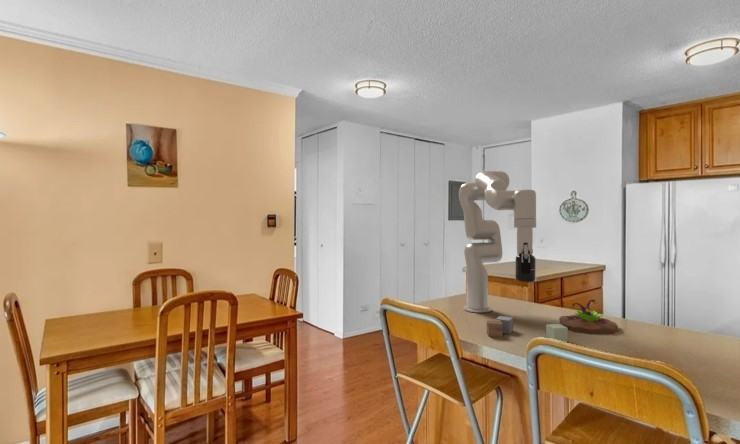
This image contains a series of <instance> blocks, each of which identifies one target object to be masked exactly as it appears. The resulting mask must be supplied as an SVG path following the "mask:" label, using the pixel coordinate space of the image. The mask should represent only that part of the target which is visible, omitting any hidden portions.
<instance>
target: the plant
mask: <svg viewBox="0 0 740 444" xmlns="http://www.w3.org/2000/svg"><path fill="white" fill-rule="evenodd" d="M591 302H592V303H593V304H594V305H597V304H598V301H597V300H596V299H590V300H589V301H588V302H587V303H586V306H585V307H584V305H582V304H581V303H578V302H574V303H572V304H570V307H571V308H574V307H575V305H577V306H579V308H581V310H580V309H576V312H574V314H572V315H571V314H570V315H562V316H559V321H558V322H559V324H560V325H563V326H565V327H567V328H568V331H569V332H573V333H583V334H587V335H588V334H589V335H615V334H614V333H615V332H616V333H617V332H619V325H618V324H617V322H615V321H612V320H610V319H608V318H603V316H604V314H603V313H602V314H597V313H598V311H595V310H591V309H590V304H591Z"/></svg>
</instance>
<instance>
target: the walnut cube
mask: <svg viewBox="0 0 740 444" xmlns="http://www.w3.org/2000/svg"><path fill="white" fill-rule="evenodd" d="M486 334H487V336H488V337H492V338H504V337H503V336H504V333H503V323H502V322H501V320H496V319H486Z"/></svg>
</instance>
